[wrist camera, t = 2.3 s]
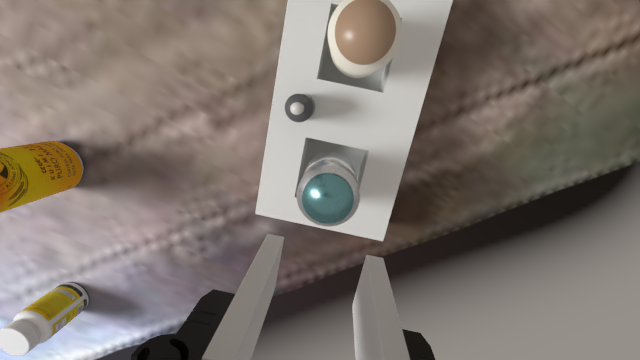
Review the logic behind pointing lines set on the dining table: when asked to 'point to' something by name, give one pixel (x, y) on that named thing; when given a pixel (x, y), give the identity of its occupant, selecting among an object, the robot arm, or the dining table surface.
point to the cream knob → (363, 36)
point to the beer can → (37, 172)
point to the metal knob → (329, 189)
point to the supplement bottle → (43, 318)
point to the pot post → (299, 107)
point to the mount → (348, 112)
